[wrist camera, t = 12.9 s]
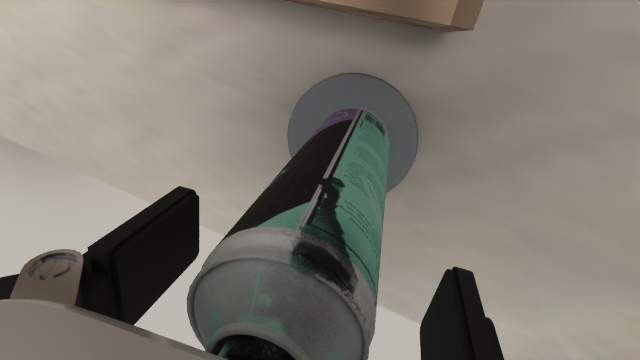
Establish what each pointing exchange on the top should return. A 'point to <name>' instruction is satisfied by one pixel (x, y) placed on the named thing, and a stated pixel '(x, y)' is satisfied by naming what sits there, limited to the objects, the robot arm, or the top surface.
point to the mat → (364, 95)
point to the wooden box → (411, 11)
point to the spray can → (302, 254)
